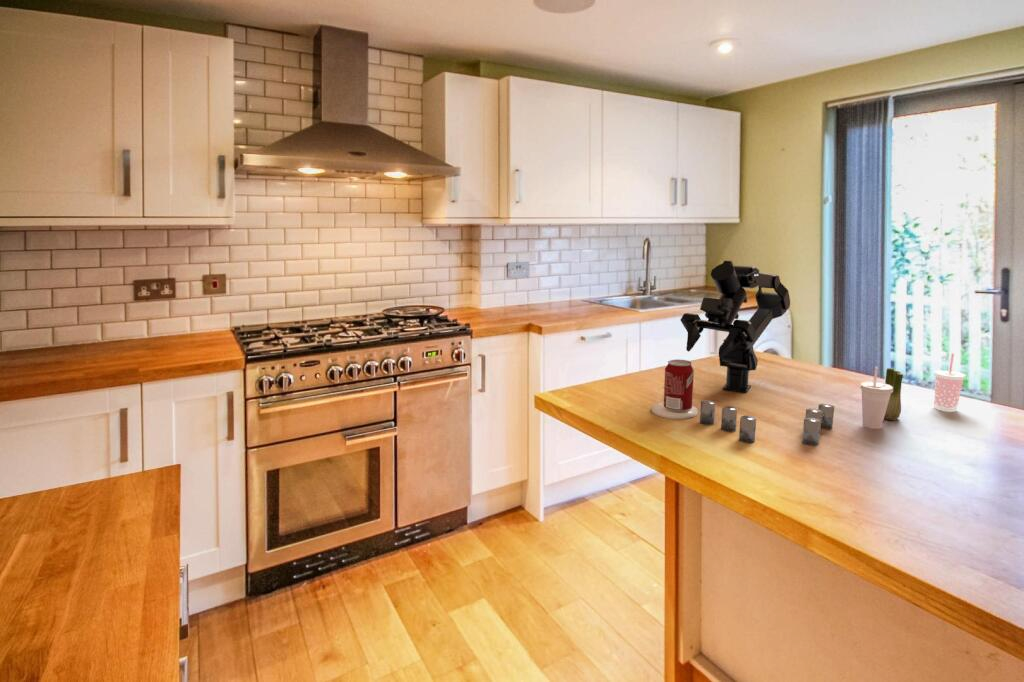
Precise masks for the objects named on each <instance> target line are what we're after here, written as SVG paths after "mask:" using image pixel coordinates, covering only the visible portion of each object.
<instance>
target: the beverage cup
mask: <svg viewBox="0 0 1024 682" xmlns="http://www.w3.org/2000/svg"><path fill="white" fill-rule="evenodd" d="M950 355H951V356H950V362H949V363H950V364H949V368H948V369H949V370H943V369H942V370H936V371H934V376H935V386H934V400H933V409H935V410H938V411H941V412H942V411H943V412H948V413H949V412H952V413H953V412H956V411H957V409H958V404H959V400H960V396H961V392H962V387H963V383H964V380H966V379H965V378H966V374H964V373H963V372H959V371H954V370H953V365H954V364H953V363H954V357H955V353H954V352H953V353H951V354H950Z"/></svg>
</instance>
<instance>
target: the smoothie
mask: <svg viewBox="0 0 1024 682" xmlns="http://www.w3.org/2000/svg"><path fill="white" fill-rule="evenodd" d="M878 370H879V367H878V366H875V367H874V375H873V381H864V382H861V383H860V387H859V388H860V390H861V413H862V414H861V415H862V416H861V417H862V427H864V428H867V429H871V430H880V429H882V427H883V423H884V420H885V419H884V416H885V413H886V409H887V405H888V402H889V398H890V394H891V393H892V392H893V387H892V386H890V385H888V384H885V383H883V382H877V379H878Z"/></svg>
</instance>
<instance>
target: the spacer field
mask: <svg viewBox="0 0 1024 682" xmlns="http://www.w3.org/2000/svg"><path fill="white" fill-rule="evenodd" d="M715 412H716V402H715V401H713V400H705V399H704V400H702V401H700V416H699V423H700V424H701V425H704V426H714V425H715V417H716V413H715ZM834 413H835V405H833V404H831V403H818V409H817V408H806V409H805V417H804V419H803V427H802V438H801V442H802V443H803V444H805V445H807V446H818V445H819V443H820V435H821V429H822V428H823V429H824V430H831V429H833V424H834V416H835V415H834ZM737 417H738V408H737V407H734V406H730V405H729V406H728V405H724V406H722V408H721V423H720V424H721V425H720V430H721V431H723V432H727V433H733V432H736V430H737V419H738V418H737ZM739 418H740V420H739V434H738V441H740V442H741V443H746V444H753V443H755V441H756V430H757V429H756V428H757V418H756V417H754V416H752V415H743V416H740V417H739ZM823 429H822V430H823Z"/></svg>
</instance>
